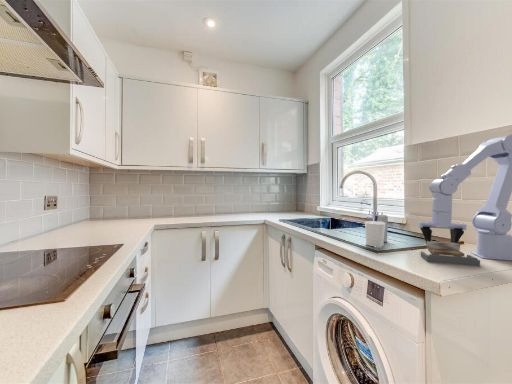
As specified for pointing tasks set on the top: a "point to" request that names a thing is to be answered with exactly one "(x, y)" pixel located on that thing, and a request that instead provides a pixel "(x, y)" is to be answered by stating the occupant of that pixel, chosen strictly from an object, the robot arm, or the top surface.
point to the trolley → (444, 248)
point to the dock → (451, 259)
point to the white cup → (375, 233)
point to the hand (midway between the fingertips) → (440, 247)
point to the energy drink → (384, 219)
